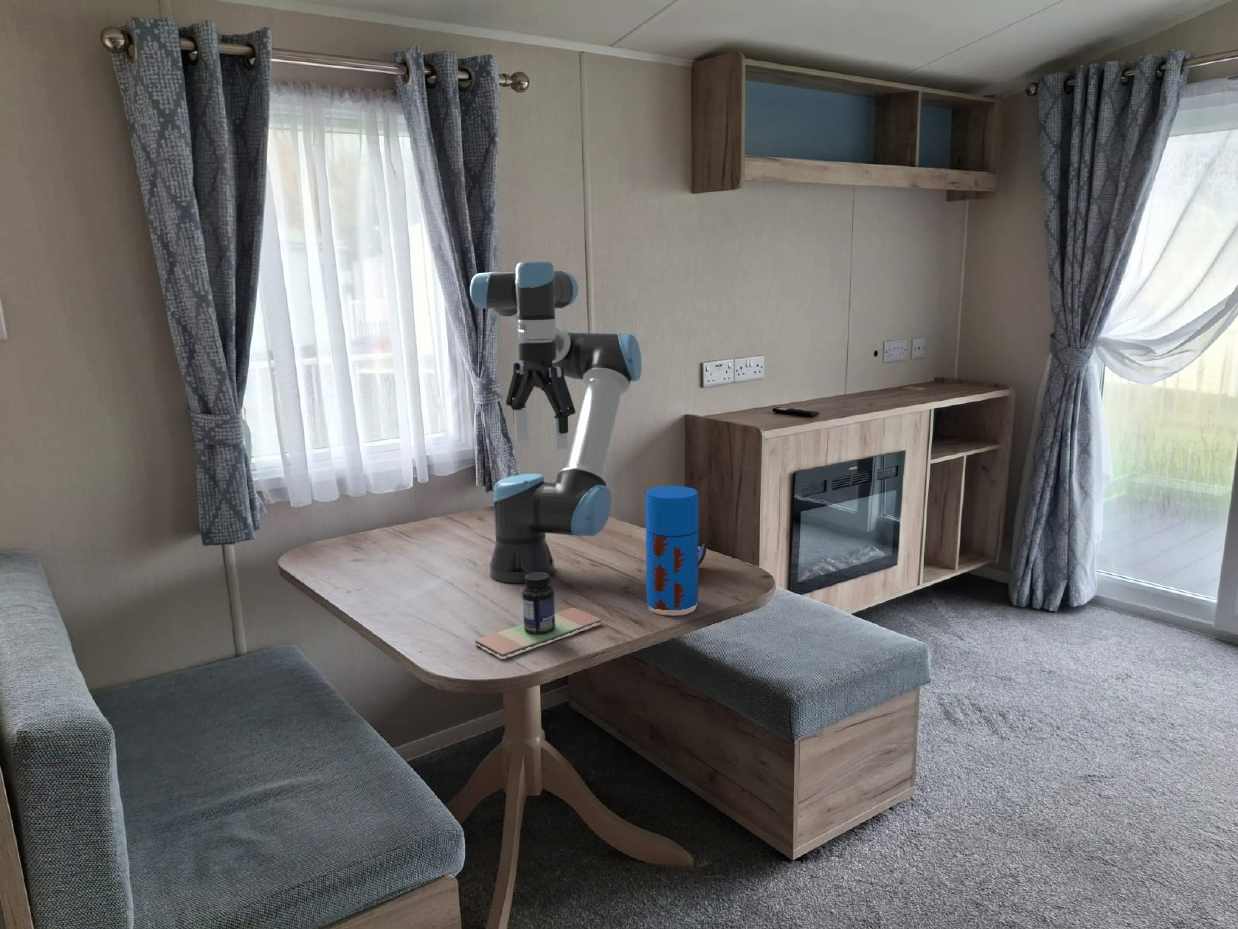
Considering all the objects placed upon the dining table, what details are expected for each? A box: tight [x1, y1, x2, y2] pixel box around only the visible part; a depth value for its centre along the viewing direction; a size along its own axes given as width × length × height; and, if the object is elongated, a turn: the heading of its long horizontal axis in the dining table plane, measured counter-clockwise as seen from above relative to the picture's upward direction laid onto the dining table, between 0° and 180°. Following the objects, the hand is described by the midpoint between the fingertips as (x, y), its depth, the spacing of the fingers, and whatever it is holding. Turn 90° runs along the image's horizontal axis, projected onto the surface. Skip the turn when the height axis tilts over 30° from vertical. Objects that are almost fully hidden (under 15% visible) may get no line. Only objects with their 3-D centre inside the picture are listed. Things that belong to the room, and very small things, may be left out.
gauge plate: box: [474, 606, 602, 657], centre depth 176 cm, size 9×24×1 cm, turn 132°
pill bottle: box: [521, 572, 556, 634], centre depth 175 cm, size 6×6×11 cm
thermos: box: [645, 485, 700, 610], centre depth 187 cm, size 11×11×25 cm
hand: (540, 444), depth 185 cm, fingers open, 13 cm apart
